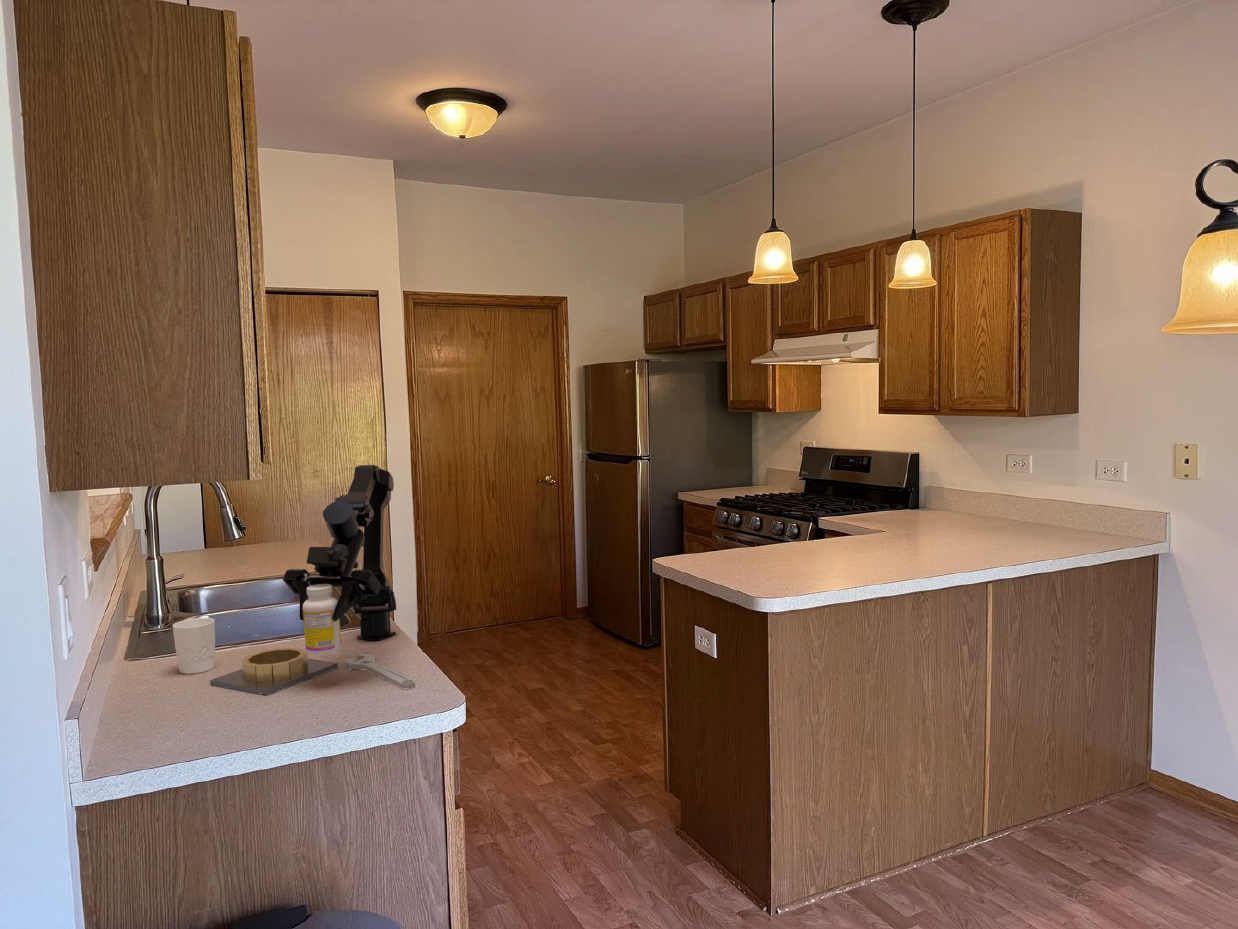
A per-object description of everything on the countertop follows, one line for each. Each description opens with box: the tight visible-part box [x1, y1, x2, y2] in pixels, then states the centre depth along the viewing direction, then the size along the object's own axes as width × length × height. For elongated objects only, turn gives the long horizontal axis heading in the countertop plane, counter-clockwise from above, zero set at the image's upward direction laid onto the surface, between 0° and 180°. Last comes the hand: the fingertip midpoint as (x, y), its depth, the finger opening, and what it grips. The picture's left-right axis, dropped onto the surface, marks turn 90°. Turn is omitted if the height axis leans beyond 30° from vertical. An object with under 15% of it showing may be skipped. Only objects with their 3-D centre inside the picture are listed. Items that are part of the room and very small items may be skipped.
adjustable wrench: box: [344, 653, 416, 689], centre depth 172 cm, size 25×6×2 cm, turn 37°
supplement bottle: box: [302, 584, 342, 656], centre depth 166 cm, size 7×7×13 cm
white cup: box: [172, 617, 216, 675], centre depth 180 cm, size 8×8×10 cm
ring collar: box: [209, 647, 339, 696], centre depth 173 cm, size 18×16×4 cm
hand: (317, 619), depth 165 cm, fingers closed on supplement bottle, 7 cm apart
